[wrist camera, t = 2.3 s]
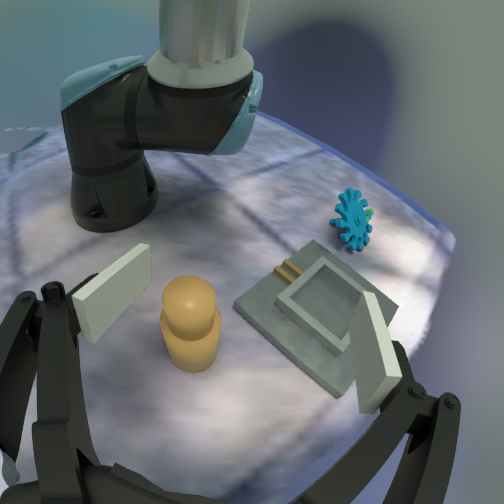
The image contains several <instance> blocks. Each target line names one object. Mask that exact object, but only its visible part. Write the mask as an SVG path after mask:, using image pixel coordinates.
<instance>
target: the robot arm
mask: <svg viewBox="0 0 504 504" xmlns="http://www.w3.org/2000/svg"><path fill="white" fill-rule="evenodd" d="M158 2H159V3H158V5H159V40H160V49H159V51H157V52H156V53H155V54H154V55H153V56H152V57H151V58H150V60H149V61H148V65H147V66H144V63H145V61H144V60H143V57H142V56H140V55H138V56H130V57H125V58H120V59H116V60H112V61H108V62H105V63H102V64H98V65H95V66H92V67H90V68H87V69H84V70H81V71H79V72H77V73H74V74H72V75H71V76H69V77H68V78H66V79H65V80H64V82H63V83H62V85H61V89H60V94H61V95H60V96H61V107H60V111H61V115H62V121H63V127H64V133H65V139H66V144H67V149H68V154H69V158H70V163H71V167H72V172H73V174H72V186H71V209H72V212H73V215H74V218H75V220H76V222H77V223H78V224H79V225H80V226H81V227H83V228H85V229H87V230H90V231H95V232H110V231H116V230H120V229H124V228H126V227H129V226H131V225H133V224H135V223H137V222H139V221H140V220H142V219H143V218H145V217H146V216H147V215H148V214H149V213H150V212H151V211H152V209H153V208H154V206H155V205H156V202H157V198H158V194H157V184H156V180H155V178H154V176H153V173H152V171H151V169H150V167H149V165H148V162H147V160H146V158H145V156H144V150H155V151H170V152H182V153H193V154H202V155H207V156H211V155H234V154H237V153H238V152H239V151H241V150H242V148H243V147H244V145H245V143H246V141H247V139H248V137H249V135H250V132H251V129H252V126H253V123H254V120H255V116H256V110H257V108H258V104H259V102H260V98H261V92H262V87H263V76H262V74H261V73H259V72H257V71H254V70H253V63H254V62H253V59H252V57H251V55H250V54H249V53H248V52H247V51H246V50H245V49H244V48H243V47H242V44H243V39H244V33H245V27H246V21H247V15H248V9H249V4H250V0H158ZM151 283H152V282H151V247H150V245H147V244H143V243H140V244H138V245H137V246H135V247H134V248H133V249H131V250H130V251H129V252H127V253H126V254H125V255H123V256H122V257H120V258H119V259H118V260H116V261H115V262H114V263H113V264H111V265H110V266H109V267H107V268H106V269H105V270H103V271H102V272H101V273H100V274H99V273H96V274H93V275H91V276H89V277H88V278H86V279H85V280H84V282H81V283H80V284H79V285H77V286H76V287H75V288H74V289H72V290H71V291H70V292H69V293H67V294H65V290H64V286H63V284H62V283H61V282H58V281H53V282H49V283H47V284H45V285H44V286H42V288H41V293H42V297H43V300H44V301H40V300H37V297H36V294H35V293H34V292H33V291H25V292H22V293H21V294H19V295H18V296H17V298H16V299H15V301H14V303H13V304H12V306H11V308H10V309H9V311H8V313H7V314H6V316H5V318H4V320H3V322H2V323H1V325H0V504H227V502H223V501H218V500H214V499H210V498H207V497H203V496H199V495H190V494H180V493H172V492H167V491H164V490H162V489H161V488H159V487H158V486H156V485H155V484H153V483H152V482H150V481H149V480H147V479H146V478H145V477H143V476H142V475H140V474H138V473H136V472H134V471H131V470H129V469H127V468H125V467H123V466H121V465H119V464H117V463H115V464H114V466H113V467H112V466H105V465H101V464H100V462H99V459H98V457H97V455H96V453H95V451H94V448H93V444H92V440H91V435H90V430H89V425H88V420H87V415H86V409H85V403H84V396H83V388H82V380H81V370H80V358H79V341H78V337H77V334H78V333H79V332H80V331H81V333H82V336H83V339H84V340H86V341H88V342H90V343H92V344H95V343H96V342H97V341H98V340H99V339H100V338H101V337H102V335H103V334H104V333H105V332H106V331H107V330H108V329H109V328H110V327H111V325H112V324H113V323H114V322H115V321H116V320H117V319H118V318H119V317H120V316H121V314H122V313H123V312H124V311H125V310H126V309H127V308H128V307H129V306H130V305H131V304H132V303H133V302H134V301H135V300H136V298H137V297H138V296H139V295H140V294H141V293H142V292H143V291H144V290H145V289H146V288H147V287H148V286H149V285H150V284H151ZM26 330H27V332H26ZM348 330H349V336H350V342H351V349H352V356H353V363H354V370H355V378H356V386H357V395H358V404H359V413H363V414H374V413H375V412H376V410H377V409H378V408H379V407H380V412H381V414H380V415H379V416H378V417H377V419H376V420H375V421H374V422H373V423H372V424H371V426H370V427H369V428H368V429H367V430H366V432H365V433H364V434H363V435H362V436H361V437H360V438H359V439H358V441H357V442H356V443H355V444H354V445H353V446H352V447H351V448H350V449H349V450H348V451H347V452H346V453H345V454H344V455H343V456H342V457H341V458H340V459H339V460H338V461H337V462H336V463H335V464H334V465H333V466H332V467H331V468H330V469H329V470H328V471H327V472H326V473H325V474H324V475H322V476H321V477H320V478H319V479H318V480H317V481H315V482H314V483H313V484H312V485H311V486H310V487H308V488H307V489H306V490H305V491H304V492H302V493H301V494H300V495H299V496H297V497H296V498H295V499H293V500H292V501H291V502H290V503H288V504H350V503H351V502H352V501H353V500H354V498H355V497H356V496H357V495H358V494H359V493H360V492H361V491H362V490H363V489H364V488H365V486H366V485H367V484H368V483H369V482H370V480H371V479H372V478H373V477H374V476H375V475H376V473H377V472H378V471H379V470H380V468H381V467H382V466H383V464H384V463H385V462H386V460H387V459H388V458H389V456H390V455H391V454H392V452H393V451H394V450H395V448H396V447H397V445H398V444H399V442H400V441H401V439H402V438H403V436H404V435H405V433H409V437H408V440H407V443H406V446H405V449H404V452H403V455H402V458H401V461H400V463H399V466H398V469H397V471H396V474H395V476H394V478H393V481H392V483H391V486H390V488H389V490H388V492H387V495H386V497H385V499H384V501H383V503H382V504H443V501H444V498H445V494H446V491H447V487H448V484H449V479H450V475H451V471H452V466H453V462H454V456H455V451H456V444H457V438H458V431H459V422H460V411H461V404H460V401H459V399H458V398H457V397H456V396H455V395H454V394H452V393H448V392H447V393H444V394H443V395H441V396H440V397H439V398H435V397H432V396H429V395H427V394H426V391H425V389H424V387H423V386H422V385H420V384H419V383H417V382H415V380H414V377H413V374H412V371H411V367H410V364H409V363H408V359H407V357H406V353H405V350H404V348H403V346H402V345H401V344H400V343H399V341H392V340H391V338H390V335H389V332H388V329H387V326H386V324H385V321H384V318H383V315H382V312H381V310H380V307H379V304H378V301H377V299H376V296H375V294H374V293H371V292H366V291H363V292H362V294H361V297H360V300H359V302H358V305H357V307H356V309H355V312H354V314H353V317H352V319H351V321H350V324H349V326H348ZM36 372H37V422H33V424H32V440H33V450H34V458H35V465H36V471H37V477H38V480H37V481H32V482H28V483H23V484H17V485H16V482H17V481H18V480H19V479H20V474H19V472H18V471H17V470H16V465H15V462H16V459H17V456H18V452H19V447H20V442H21V435H22V430H23V424H24V419H25V414H26V410H27V405H28V401H29V397H30V393H31V389H32V385H33V382H34V378H35V375H36Z"/></svg>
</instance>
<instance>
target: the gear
mask: <svg viewBox="0 0 504 504" xmlns="http://www.w3.org/2000/svg"><path fill="white" fill-rule="evenodd" d="M345 192H346V193H341V194H339V195H338V197H339V200H340V201H341V202H342V203H340V204H336V206H335V211H336V212H337V213H339V214H340V215H341V216H342V218H337V219H331V220H330V224H331V225H336V227H337V228H343V227H344V228H345V229H346V231H347V233H343V234H341V235H340V237H341V240H342V242H348V241H349V238H350V237H352V240H351V242H349V243H348V248H349V249H350V250H356V249H357V250H359V249H364V244H367V243H369V241H370V239H369V237H368V235H367V233H371V232H372V226H371V225H370V224H368V222H369V219H371V215H373V214H374V211H373V209H367V210H365V211H364V210H363V207H367V206H368V203H367V200H366V199H362V200H361V201H360V203H359V202H358V199H359V198H361V196H362V194H361V193H360V191H359V190H356V191H354V190H353V189H352V188H348V189H346V190H345ZM352 197H353V198H352Z"/></svg>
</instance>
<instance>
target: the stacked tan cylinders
mask: <svg viewBox="0 0 504 504" xmlns="http://www.w3.org/2000/svg"><path fill="white" fill-rule="evenodd" d="M162 302H163V307H164V308H163V310H162V312H161V315H160V326H161V330H162V333H163V336H164V340H165V343H166V346H167V350H168V353H169V356H170V359H171V360H172V362H173V363H174V364H175V365H176V366H177V367H178V368H179V369H181V370H183V371H186V372H201V371H203V370H205V369H207V368H209V367H210V366H211V365H212V364H213V362H214V361H215V358H216V355H217V348H218V341H219V334H220V327H221V317H220V313H219V311H218V309H217V307H216V306H215V305H216V295H215V291H214V289H213V288H212V286H211V285H210V284H209V283H208V282H207V281H205V280H204V279H202V278H199V277H195V276H182V277H179V278H176V279H174V280H173V281H171V282H170V283H169V284H168V285H167V286H166V288H165V289H164V291H163V295H162Z"/></svg>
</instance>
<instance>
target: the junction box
mask: <svg viewBox="0 0 504 504" xmlns="http://www.w3.org/2000/svg"><path fill="white" fill-rule="evenodd" d="M363 291H366V292H371V293H374V294H375V296H376V299H377V301H378V304H379V307H380V310H381V312H382V315H383V318H384V321H385V324H386V326H387V327H388V325H389V324H390V322H391V320H392V318H393V316H394V315H395V313H396V311H397V309H398V307H399V306H398V305H397V304H395V303H394V302H393V301H392V300H391V299H389V298H388V297H387V296H386V295H384V294H383V293H382V292H381V291H380V290H378V289H377V288H376V287H375V286H373V285H372V284H371V283H370V282H368V281H367V280H366V279H364V278H363V277H362V276H361V275H359V274H358V273H357V272H356V271H354V270H353V269H352V268H350V267H349V266H348V265H347V264H345V263H344V262H343V261H341V260H340V259H339V258H337V257H336V256H335V255H333V254H332V253H331V252H330V251H328V250H327V249H326V248H324V247H323V246H322V245H320V244H319V243H318V242H316V241H315V240H312V241H310V242H309V243H308V244H307V245H306V246H304V247H303V248H302V249H301V250H299V251H298V252H297V253H296V254H294V255H293V256H292V257H290V258H289V259H288V260H287V259H285V260H284V261H283V263H282V265H280V266H276V267H275V268H274V271H273V272H271V273H270V274H269V275H268V276H266V277H265V278H264V279H263V280H261V281H260V282H259V283H257V284H256V285H255V286H253V287H252V288H251V289H250V290H248V291H247V292H246V293H244V294H243V295H242V296H240V297H239V298H238V299H237V300H235V301H234V306H233V308H234V309H235V310H236V311H237V312H238V313H239V314H240V315H241V316H242V317H243V318H244V319H246V320H247V321H248V322H249V323H250V324H251V325H252V326H253V327H254V328H255V329H256V330H257V331H259V332H260V333H261V334H262V335H263V336H264V337H265V338H266V339H267V340H269V341H270V342H271V343H272V344H273V345H274V346H275V347H276V348H278V349H279V350H280V351H281V352H282V353H283V354H284V355H285V356H287V357H288V358H289V359H290V360H291V361H292V362H294V363H295V364H296V365H297V366H298V367H299V368H301V369H302V370H303V371H304V372H305V373H306V374H308V375H309V376H310V377H311V378H312V379H314V380H315V381H316V382H317V383H318V384H320V385H321V386H322V387H323V388H324V389H326V390H327V391H328V392H329V393H331V394H332V395H333V396H334V397H335V398H337V399H338V398H339V397H341V396H343V395H344V394H345V392H346V391H347V390H348V388H349V387H350V385H351V384H352V382H353V381H354V380H355V370H354V363H353V356H352V349H351V342H350V336H349V330H348V326H349V324H350V321H351V319H352V317H353V314H354V312H355V309H356V307H357V305H358V302H359V300H360V297H361V294H362V292H363Z"/></svg>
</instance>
